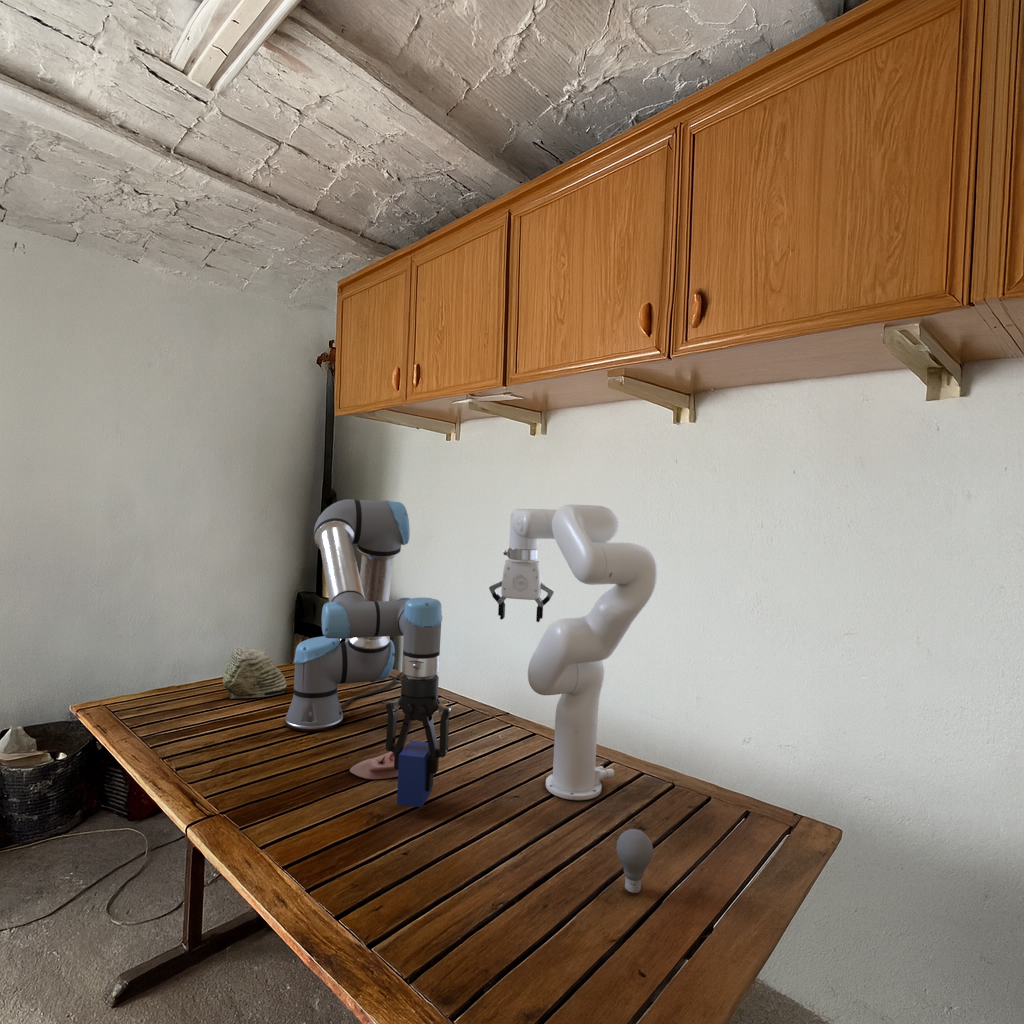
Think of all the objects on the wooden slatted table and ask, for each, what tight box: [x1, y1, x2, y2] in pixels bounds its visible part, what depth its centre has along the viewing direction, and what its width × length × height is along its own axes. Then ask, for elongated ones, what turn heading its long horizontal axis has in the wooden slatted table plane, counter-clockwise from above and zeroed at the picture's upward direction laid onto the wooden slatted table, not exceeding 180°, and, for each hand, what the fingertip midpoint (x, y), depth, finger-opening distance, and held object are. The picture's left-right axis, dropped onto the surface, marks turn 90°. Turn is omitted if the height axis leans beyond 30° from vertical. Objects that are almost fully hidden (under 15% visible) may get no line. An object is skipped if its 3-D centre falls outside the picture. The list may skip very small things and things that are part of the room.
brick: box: [396, 739, 433, 808], centre depth 130 cm, size 5×8×10 cm
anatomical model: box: [349, 751, 398, 780], centre depth 148 cm, size 13×4×12 cm
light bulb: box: [615, 828, 654, 894], centre depth 106 cm, size 6×6×10 cm
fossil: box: [222, 646, 288, 699], centre depth 198 cm, size 9×18×15 cm, turn 132°
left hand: (415, 786), depth 130 cm, fingers closed on brick, 5 cm apart
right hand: (520, 619), depth 168 cm, fingers open, 9 cm apart
